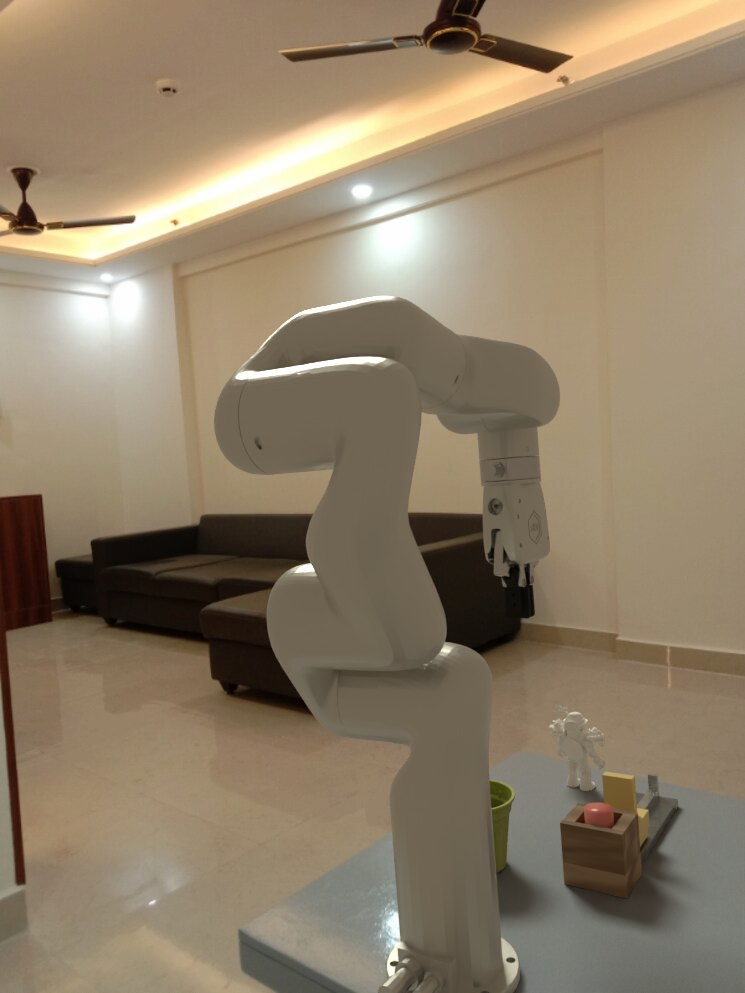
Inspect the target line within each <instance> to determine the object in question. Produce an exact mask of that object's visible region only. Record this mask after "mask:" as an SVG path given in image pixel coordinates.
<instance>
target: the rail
mask: <svg viewBox="0 0 745 993" xmlns="http://www.w3.org/2000/svg"><path fill="white" fill-rule="evenodd" d="M647 784H648V786H647V787H648V790H647V791H646V792H645V793H640V792H636V800H637V808H640V809H646V810H649V825H650V826H649V835H648V836H647V838H646V839H645V841H644V842H643V844H642V845H641V847H640V852H641V867H642V866H643V864H644V862H646V860H647V858H648V856H649V855H650V853H651V851H652V849H653V848H654V847H655V845H656V843H657V841H658V840H659V839H660V837H661V835H662V833H663V832H664V830H665V829H666V827H667V826H668V824H669V823H670V821H671V819H672V817H673V816H674V814H675V812H676V811H677V809H678V808H679V801H678V798H673V797H672V798H671V797H666V796H660V786H659V775H658V774H657V773H656V774H655V773H647ZM677 807H678V808H677ZM676 808H677V809H676ZM675 810H676V811H675Z"/></svg>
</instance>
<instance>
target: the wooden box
mask: <svg viewBox="0 0 745 993" xmlns="http://www.w3.org/2000/svg"><path fill="white" fill-rule="evenodd" d="M587 804H588V803H583V802H577V803H576V804H575V805H574V807H572V809H571V810H570V811H569V812H568V813H567V814H566V815H565V817H564V818H563V819H562V820H561V821H560V822H559V828H560V841H561V856H562V869H563V882H564V883H563V884H564V885H567V886H571V887H574V888H575V887H576V888H581V889H585V890H588V891H593V892H598V893H602V894H604V895H605V894H606V895H610V896H614V897H619V898H623V899H627V898H628V896H629V895H630V893H631V892H632V890H633V889H634V887H635V886H636V884H637V882H638V881H639V879H640V878H641V876H642V874H643V870H642V866H641V852H640V838H639V823H638V813H636V812H630V811H624V810H619V809H613V815H614V827H613V828H612V829H610V828H605V827H599V826H594V825H589V824H585V817H584V806H585V805H587Z"/></svg>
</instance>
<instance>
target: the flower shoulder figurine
mask: <svg viewBox="0 0 745 993" xmlns="http://www.w3.org/2000/svg"><path fill="white" fill-rule="evenodd" d="M554 707H555V710H556V709H557V712H561V714H562V715H564V716H565V715H566V717H564V719H562V717H558V719H556V720H552V723H553V724H550V725H549V726H548V728H549V729H550V730H549V732H550V735H551V737H552V738H554V739H555V738H557V737H558V736H559V737H558V740H557V755H558V757H559V758H563V757H566V758H567V761H568V769H569V770H568V776H567V780H566V785H567V787H569V788H578V787H579V789H580V790H581V791H583V792H590V791H592V789H593V790H595V789H596V788H595V787H596V783H595V782H594V781H592V771H591V765H590V762H589V758H588V756H589V757H590V758H591V759H592V761H593V763H594V764H596V766H597V767H598V768H599V770H601V769H604V768H605V765H606V762H605V759H603V758H602V757H601V756H600V755H599V753H598V752H597V751H596V749H595V748H594V746H595V744H596V743H598V744H599V746H600V747H604V746H605V743H606V738H605V737H604V736H605V733H603V732H602V730H599V729H598V728H597V727H599V725H597V727H595V726H593V727H592V728H590V727H589V728H588V724H587V723H588V721H589V719H587V718H585V716H584V715H583V714H582V713H581V712H578V711H571V712H569V711H567V710H568V707H563V706H561V705H559V704H558V703H555V704H554ZM559 734H560V735H559ZM579 771H581V772H580V773H581V776H580V778H579ZM594 788H595V789H594ZM589 790H590V791H589Z"/></svg>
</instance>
